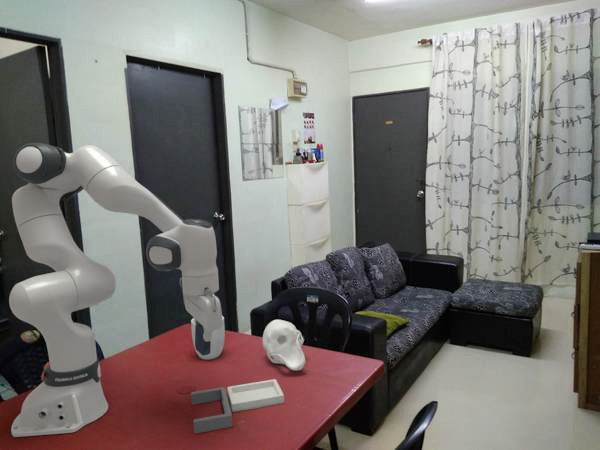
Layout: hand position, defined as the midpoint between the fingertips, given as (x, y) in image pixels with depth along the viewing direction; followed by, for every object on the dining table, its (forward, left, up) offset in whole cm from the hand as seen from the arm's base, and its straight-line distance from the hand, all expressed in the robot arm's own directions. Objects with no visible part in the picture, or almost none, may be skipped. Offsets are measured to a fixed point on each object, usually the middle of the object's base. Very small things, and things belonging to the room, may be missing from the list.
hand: (204, 337), depth 116 cm
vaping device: (-1, +1, -4) cm, 5 cm away
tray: (+13, +4, -21) cm, 25 cm away
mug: (+3, +39, -21) cm, 44 cm away
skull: (+26, +23, -21) cm, 41 cm away
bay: (0, 0, -21) cm, 21 cm away
